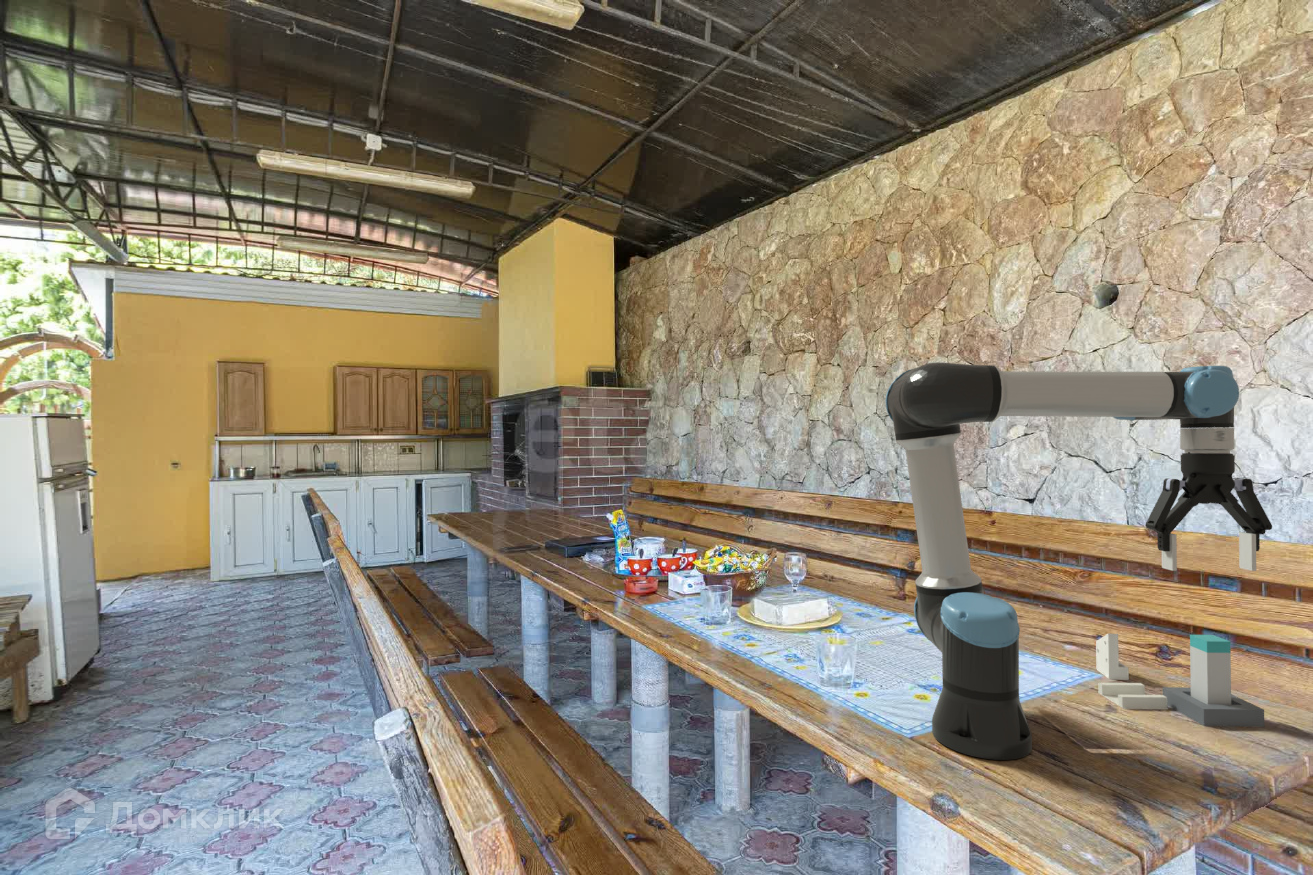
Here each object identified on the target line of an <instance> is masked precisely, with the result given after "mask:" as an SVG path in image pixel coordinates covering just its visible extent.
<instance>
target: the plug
mask: <svg viewBox="0 0 1313 875" xmlns="http://www.w3.org/2000/svg"><path fill="white" fill-rule="evenodd" d="M1189 650H1190V651H1189V653H1190V654H1189V656H1190V657H1189V658H1190V659H1189V661H1190V662H1189V663H1190V664H1189V665H1190V666H1189V668H1190V670H1189V671H1190V688H1191V697H1193V698H1195V699H1197V700H1199V701H1201V702H1203V703H1205V704H1209V705H1231V694H1232V665H1231V664H1232V663H1231V662H1232V661H1231V660H1232V659H1231V658H1232V657H1231V654H1232V653H1231V652H1232V651H1231V641H1230V640H1228V639H1224V638H1223V637H1219V636H1217V635H1214V634H1189Z"/></svg>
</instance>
